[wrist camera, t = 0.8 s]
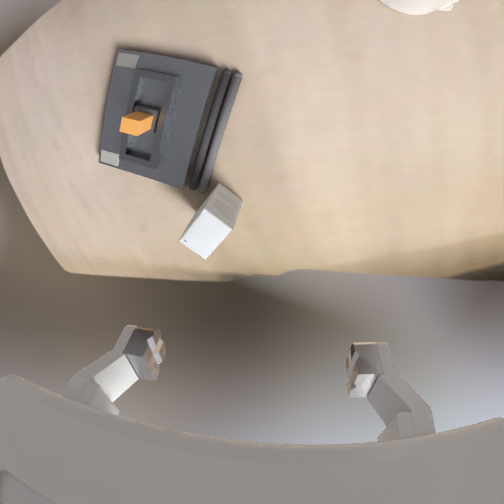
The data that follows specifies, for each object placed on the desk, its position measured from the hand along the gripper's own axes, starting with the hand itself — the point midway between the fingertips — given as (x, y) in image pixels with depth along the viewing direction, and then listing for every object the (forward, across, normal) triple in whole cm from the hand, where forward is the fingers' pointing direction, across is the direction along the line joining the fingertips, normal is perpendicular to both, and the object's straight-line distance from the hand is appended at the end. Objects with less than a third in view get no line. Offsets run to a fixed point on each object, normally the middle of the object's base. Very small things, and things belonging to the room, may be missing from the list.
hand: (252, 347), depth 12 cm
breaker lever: (+39, +22, -4) cm, 45 cm away
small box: (+42, +12, +14) cm, 45 cm away
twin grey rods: (+41, +11, 0) cm, 43 cm away
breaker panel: (+41, +22, -4) cm, 47 cm away
